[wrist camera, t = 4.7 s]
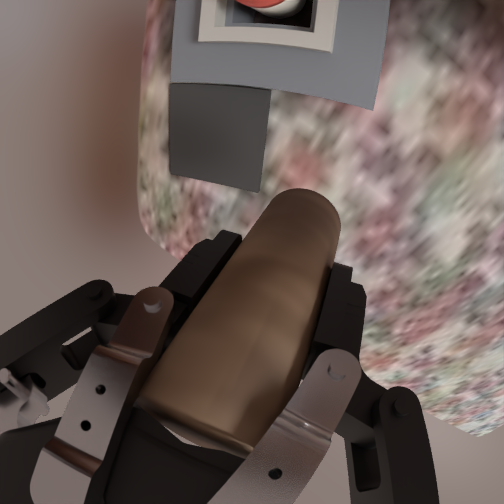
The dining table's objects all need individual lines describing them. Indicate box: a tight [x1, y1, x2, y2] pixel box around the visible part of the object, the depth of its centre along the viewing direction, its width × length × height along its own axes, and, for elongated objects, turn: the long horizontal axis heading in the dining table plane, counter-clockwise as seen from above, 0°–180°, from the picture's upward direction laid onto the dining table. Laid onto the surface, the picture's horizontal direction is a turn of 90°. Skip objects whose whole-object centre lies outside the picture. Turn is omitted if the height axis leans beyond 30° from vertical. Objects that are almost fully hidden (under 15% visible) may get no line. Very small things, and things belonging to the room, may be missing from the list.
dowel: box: [136, 188, 341, 459], centre depth 9 cm, size 4×4×10 cm
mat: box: [169, 83, 271, 193], centre depth 23 cm, size 9×9×1 cm
